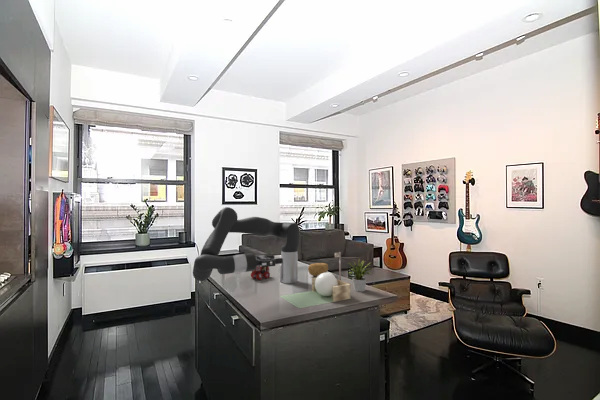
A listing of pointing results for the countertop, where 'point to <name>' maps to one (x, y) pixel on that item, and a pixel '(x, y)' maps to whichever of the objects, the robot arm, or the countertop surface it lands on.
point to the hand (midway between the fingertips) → (278, 258)
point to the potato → (317, 269)
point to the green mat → (307, 299)
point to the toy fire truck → (260, 273)
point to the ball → (325, 284)
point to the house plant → (359, 276)
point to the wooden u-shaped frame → (342, 289)
